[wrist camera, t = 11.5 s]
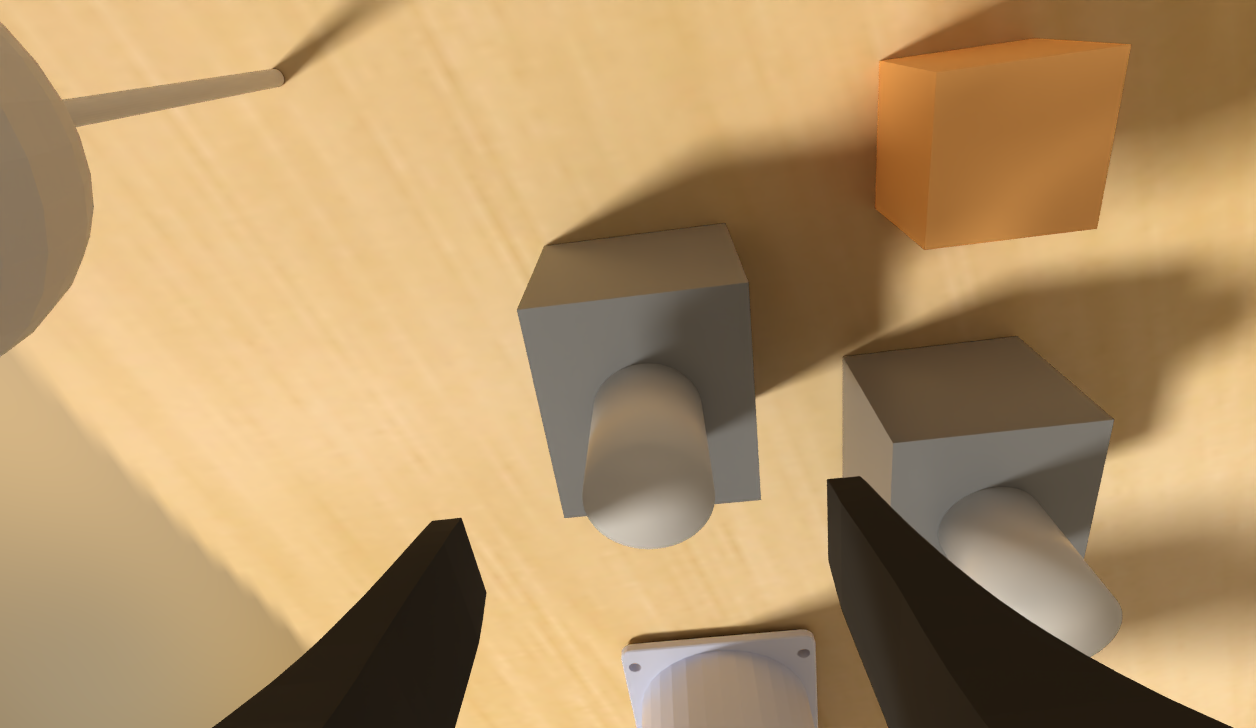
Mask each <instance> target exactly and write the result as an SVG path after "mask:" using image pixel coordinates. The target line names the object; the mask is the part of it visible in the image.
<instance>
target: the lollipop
mask: <svg viewBox="0 0 1256 728" xmlns="http://www.w3.org/2000/svg"><path fill="white" fill-rule="evenodd" d="M283 83H284V77H283V75H282V73H281V72H280V71H279V70H277V69H269V70H262V71H255V72H248V73H242V74H235V75H228V76H221V77H214V78H208V79H201V80H194V81H187V82H180V83H174V84H167V85H160V86H153V87H147V88H140V89H133V90H126V91H119V92H113V93H106V94H99V95H92V96H85V97H79V98H72V99H65V100H62V99H61V98H60V96H59V95H58V93H57V92H56V90H55V89H54V87H53V86H52V84H51V83H50V81H49V80H48V78H47V77H46V75H45V74H44V72H43V71H42V69H41V68H40V66H39V65H38V63H37V62H36V61H35V60H34V59H33V57H32V56H31V55H30V54H29V53H28V52H27V51H26V50H25V48H24V47H23V46H22V45H21V44H20V43H19V42H18V40H17V39H16V38H15V37H14V36H13V35H12V34H11V32H10V31H9V30H8V29H7V28H6V27H5V26H4V25H3V24H2V23H1V22H0V356H2V355H3V354H5V353H6V352H8V351H9V350H10V349H12V348H13V347H14V346H16V345H17V344H18V343H20V342H21V341H22V340H24V339H25V338H26V337H28V336H29V335H30V334H32V333H33V332H34V331H35V329H36V328H37V327H38V326H39V325H40V323H41V322H42V321H43V320H44V319H45V317H46V316H47V315H48V314H49V312H50V311H51V310H52V309H53V308H54V306H55V305H56V304H57V303H58V301H59V300H60V299H61V298H62V296H63V295H64V294H65V293H66V292H67V290H68V289H69V288H70V287H71V285H72V283H73V281H74V278H75V276H76V274H77V271H78V269H79V266H80V264H81V261H82V259H83V256H84V253H85V250H86V247H87V244H88V240H89V237H90V231H91V224H92V216H93V208H94V205H93V194H92V184H91V173H90V170H89V167H88V163H87V160H86V156H85V153H84V149H83V146H82V143H81V139H80V136H79V134H78V132H77V129H76V127H79V126H84V125H89V124H94V123H99V122H104V121H109V120H114V119H119V118H124V117H129V116H134V115H140V114H145V113H150V112H155V111H160V110H165V109H170V108H175V107H180V106H185V105H190V104H195V103H200V102H205V101H210V100H215V99H220V98H225V97H230V96H235V95H240V94H245V93H250V92H255V91H260V90H265V89H270V88H275V87H280V86H282V85H283Z"/></svg>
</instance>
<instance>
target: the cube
mask: <svg viewBox="0 0 1256 728" xmlns="http://www.w3.org/2000/svg"><path fill="white" fill-rule="evenodd" d="M1130 49H1131V44H1118V43H1103V42H1087V41H1072V40H1056V39H1041V38H1032V39H1026V40H1019V41H1012V42H1005V43H998V44H991V45H984V46H978V47H971V48H964V49H957V50H950V51H943V52H936V53H929V54H923V55H916V56H909V57H902V58H895V59H888V60H881V61H879V93H878V126H877V158H876V191H875V209H876V210H878V211H879V212H880V213H881V214H882V215H884V216H885V217H886V218H887V219H888V220H890V221H891V222H892V223H893V224H894V225H896V226H897V227H898V228H899V229H900V230H901V231H903V232H904V233H905V234H906V235H907V236H909V237H910V238H911V239H912V240H913V241H915V242H916V243H917V244H918V245H919V246H921V247H922V248H923V249H924V250H928V249H936V248H944V247H952V246H960V245H968V244H976V243H985V242H993V241H1001V240H1009V239H1017V238H1025V237H1033V236H1041V235H1049V234H1057V233H1066V232H1074V231H1082V230H1090V229H1097V226H1098V221H1099V215H1100V210H1101V204H1102V199H1103V194H1104V188H1105V183H1106V178H1107V172H1108V167H1109V162H1110V156H1111V151H1112V146H1113V140H1114V135H1115V130H1116V124H1117V119H1118V114H1119V108H1120V103H1121V97H1122V92H1123V87H1124V81H1125V76H1126V71H1127V65H1128V60H1129V55H1130Z"/></svg>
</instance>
